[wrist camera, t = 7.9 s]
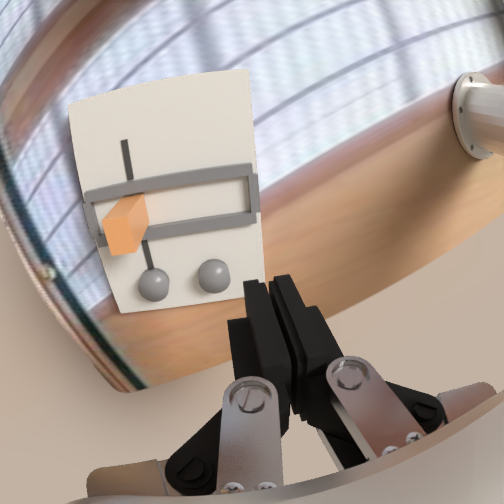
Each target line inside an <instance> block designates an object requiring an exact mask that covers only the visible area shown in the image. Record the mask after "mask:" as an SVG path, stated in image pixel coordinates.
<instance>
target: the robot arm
mask: <svg viewBox="0 0 504 504" xmlns="http://www.w3.org/2000/svg"><path fill="white" fill-rule="evenodd" d="M452 112H453V121H454V126H455V130H456V133H457V136H458V139H459V141H460V143H461V145H462V147H463V148H464V150H465V151H466V152H467V153H468V154H469V155H471V156H472V157H474V158H477V159H483V160H484V159H487V158H489V157H490V156H492V155H493V154H494V153H497V154H500V155H503V156H504V86H503V85H494V84H491V82H490V81H489V80H488V79H487V78H486V77H485V76H484V75H482V74H480V73H477V72H468V73H465V74H464V75H462V76H461V77H460V79H459V80H458V82H457V84H456V86H455V90H454V93H453V101H452ZM243 289H244V297H245V306H246V314H247V317H246V318H239V319H232V320H227V323H228V331H229V339H230V346H231V354H232V361H233V368H234V376H235V381H234V382H233V383H232V384H230V385H229V386H228V388H227V389H226V390H225V393H224V396H223V407H222V409H221V410H220V411H219V412H218V413H216V414H215V415H214V416H213V417H212V418H211V419H210V420H209V421H208V422H207V423H206V424H205V425H204V426H203V427H202V428H201V429H200V430H199V431H198V432H197V433H196V434H195V435H194V436H192V437H191V439H189V440H188V441H187V442H186V443H185V444H184V445H183V446H182V447H180V448H179V449H178V450H177V451H176V452H175V453H174V454H173V455H172V456H171V457H170V458H169V459H166V460H162V461H157V460H156V459H154V460H149V461H144V462H138V463H132V464H126V465H118V466H111V467H102V468H98V469H96V470H94V471H92V472H91V473H90V474H89V476H88V478H87V484H86V487H87V494H88V498H83V499H78V500H74V501H72V502H69V503H66V504H504V390H503V391H501V392H499V393H496V391H495V389H494V388H493V387H492V386H491V385H490V384H488V383H485V382H479V383H475V384H472V385H468V386H465V387H461V388H458V389H454V390H450V391H446V392H442V393H439V394H438V395H437V396H436V397H434V396H431V395H429V394H426V393H422V392H419V391H416V390H412V389H409V388H406V387H403V386H400V385H396V384H393V383H390V382H387V381H384V380H383V379H382V377H381V376H380V375H379V374H378V372H377V371H376V370H375V369H374V368H373V366H372V365H371V364H370V363H369V362H367V361H366V360H364V359H362V358H360V357H355V356H345V357H344V355H343V354H342V352H341V350H340V348H339V346H338V344H337V342H336V340H335V338H334V336H333V335H332V333H331V331H330V329H329V327H328V325H327V323H326V321H325V319H324V318H323V316H322V314H321V312H320V310H319V308H318V307H317V306H310V307H305V305H304V303H303V301H302V299H301V297H300V295H299V293H298V290H297V288H296V286H295V284H294V282H293V280H292V278H291V276H290V275H289V274H287V275H281V276H274V281H269V293H268V291H267V288H266V285H265V282H262V283H259V280H258V279H254V280H248V281H243ZM290 404H291V407H292V410H293V413H294V414H295V415H296V414H300V417H301V421H306V420H307V423H308V424H309V425H311V426H313V427H315V428H316V429H317V432H318V435H319V436H320V438H321V440H322V442H323V444H324V445H325V447H326V449H327V451H328V452H329V454H330V456H331V458H332V460H333V461H334V463H335V465H336V467H337V468H338V470H339V472H336V473H333V474H330V475H326V476H323V477H319V478H316V479H311V480H307V481H303V482H299V483H295V484H290V485H285V486H284V484H283V467H282V452H281V451H282V450H281V438H282V436H283V435H284V434H285V432H286V431H287V430H288V429H289V416H290Z"/></svg>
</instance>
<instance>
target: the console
mask: <svg viewBox="0 0 504 504" xmlns="http://www.w3.org/2000/svg"><path fill="white" fill-rule="evenodd" d="M68 112H69V121H70V128H71V135H72V142H73V148H74V154H75V160H76V165H77V170H78V175H79V180H80V184H81V189H82V193H83V197H84V202H85V203H83V204H82V205H83V209H84V213H85V216H86V220H87V224H88V227H89V231H90V234H91V238H92V239H94V238H95V242H96V245H97V248H98V251H99V255H100V258H101V261H102V264H103V267H104V270H105V273H106V275H107V278H108V281H109V284H110V287H111V289H112V292H113V295H114V297H115V300H116V302H117V305H118V307H119V310H120V312H121V313H130V312H138V311H147V310H155V309H163V308H171V307H179V306H187V305H194V304H201V303H208V302H215V301H222V300H228V299H235V298H241V297H244V289H243V281H248V280H254V279H258V280H259V283H262V282H265V272H264V257H263V243H262V229H261V216H260V212H261V211H260V198H259V184H258V174H257V164H256V151H255V139H254V127H253V115H252V104H251V92H250V81H249V70H248V69H239V70H226V71H216V72H206V73H198V74H191V75H184V76H178V77H172V78H166V79H161V80H156V81H151V82H146V83H141V84H137V85H133V86H129V87H125V88H121V89H117V90H113V91H109V92H106V93H102V94H99V95H96V96H93V97H89V98H86V99H83V100H80V101H77V102H74V103H71V104H69V105H68ZM141 193H143V194H144V199H145V204H146V209H147V213H148V218H149V225H148V227H147V229H146V232H145V234H144V236H143V238H142V241H141V243H140V245H139V247H138V250H137V252H135V253H128V254H122V255H116V256H112V255H111V252H110V249H109V245H108V242H107V239H106V235H105V231H104V228H103V224H102V220H103V218H104V217H105V216H106V215H107V214H108V213H109V212H110V210H111V209H112V208H113V207H114V206H115V205H116V204H117V203H118V202H119V200H120V199H121V198H122V197H126V196H131V195H136V194H141Z"/></svg>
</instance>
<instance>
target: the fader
mask: <svg viewBox="0 0 504 504" xmlns="http://www.w3.org/2000/svg"><path fill="white" fill-rule="evenodd" d="M102 224H103V228H104V231H105V235H106V239H107V242H108V245H109V249H110V252H111V255H112V256H116V255H122V254H128V253H135V252H137V250H138V247H139V245H140V243H141V241H142V238H143V236H144V234H145V232H146V229H147V227H148V225H149V218H148V213H147V209H146V204H145V199H144V194H143V193H141V194H136V195H131V196H126V197H122V198H121V199H120V200H119V202H118V203H117V204H116V205H115V206H114V207H113V208H112V209H111V210H110V212H109V213H108V214H107V215H106V216H105V217H104V218H103V220H102Z"/></svg>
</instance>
